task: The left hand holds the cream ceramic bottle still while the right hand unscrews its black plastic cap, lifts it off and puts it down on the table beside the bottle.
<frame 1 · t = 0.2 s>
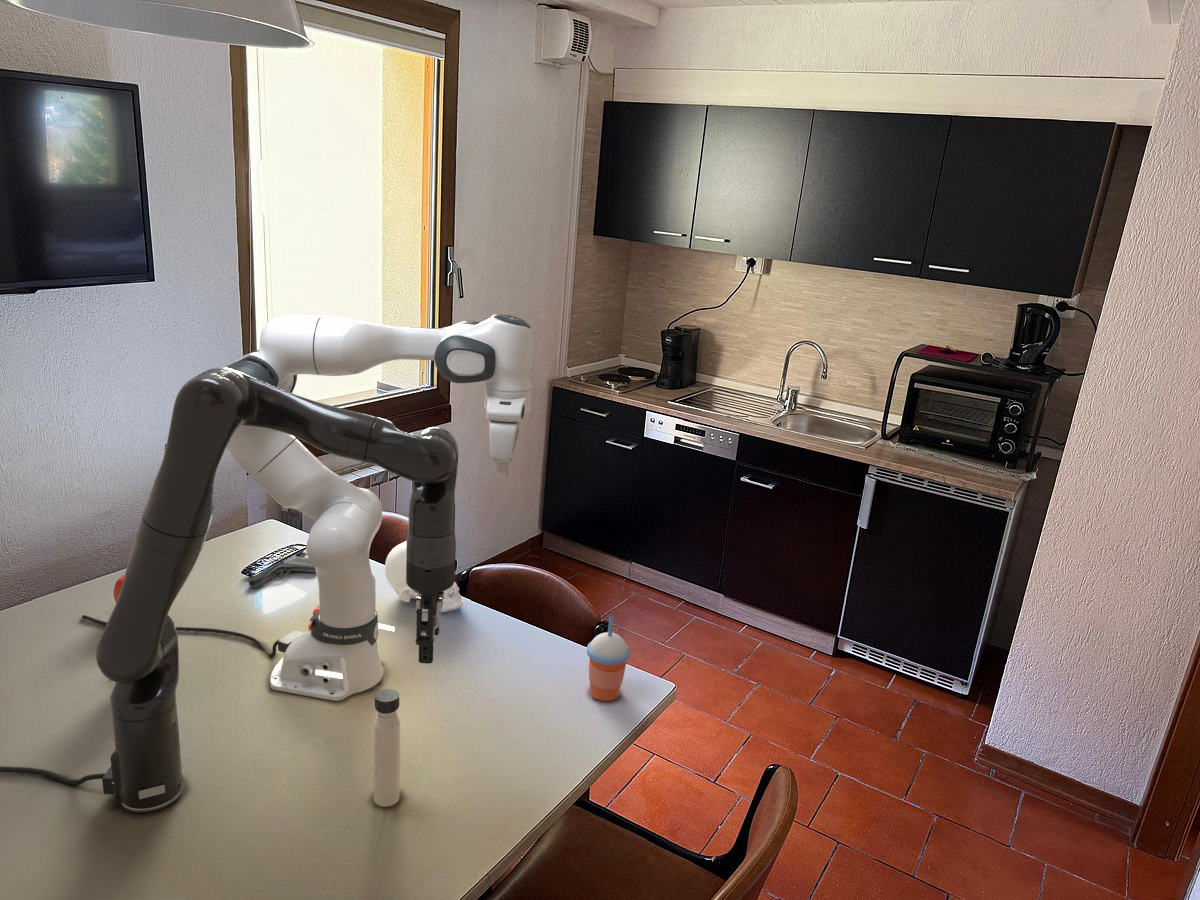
left hand: (429, 648, 138), 29 cm above the table, tool pointing down, fingers open, 8 cm apart
right hand: (504, 470, 166), 48 cm above the table, tool pointing down, fingers open, 8 cm apart
toy: (146, 686, 170), on the table
apple: (140, 614, 197), on the table
cap: (387, 696, 140), point 20 cm above the table, screwed on, not yet turned
bottle: (386, 798, 146), on the table
cup with straw: (604, 693, 180), on the table
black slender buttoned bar: (287, 576, 220), on the table
skull: (425, 601, 213), on the table
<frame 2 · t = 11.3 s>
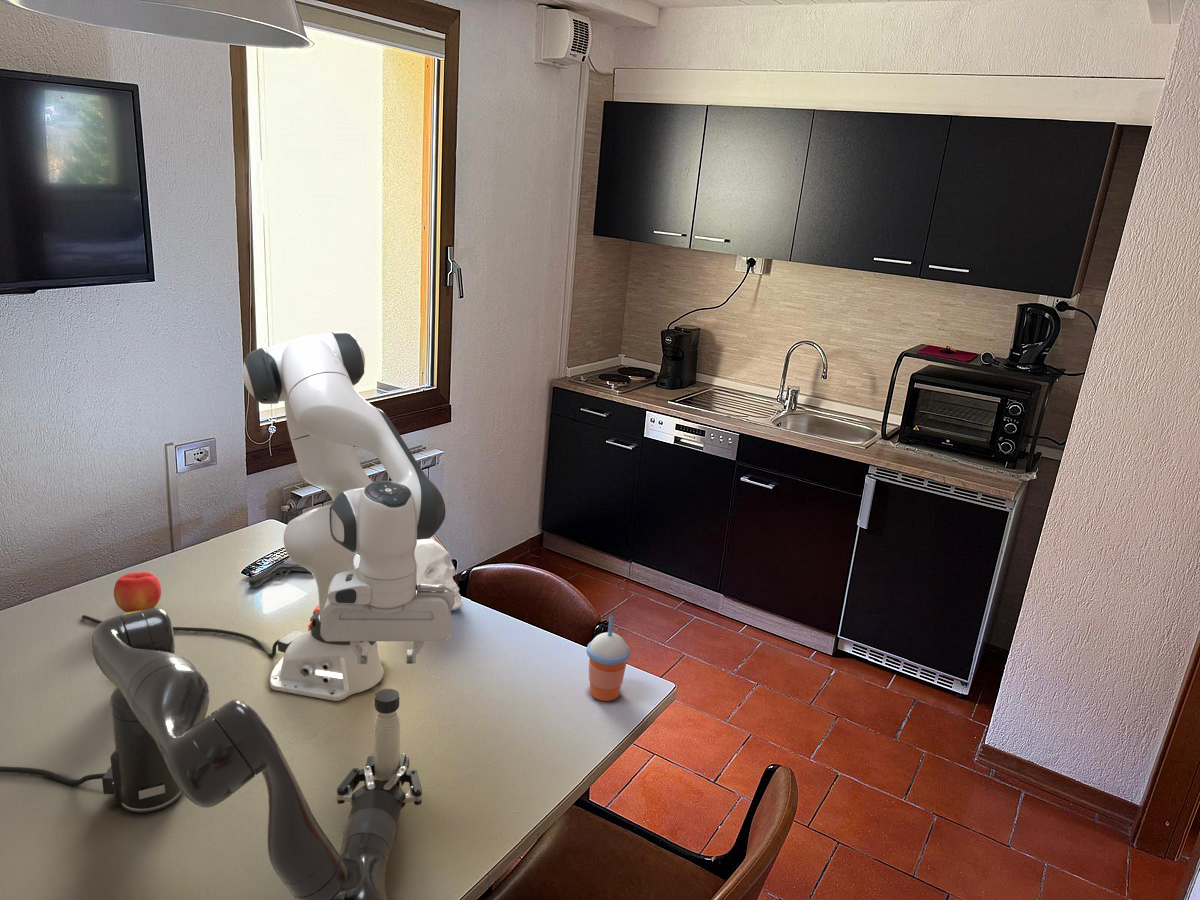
left hand: (389, 757, 146), 6 cm above the table, tool horizontal, fingers closed on bottle, 4 cm apart
right hand: (387, 662, 138), 26 cm above the table, tool pointing down, fingers open, 6 cm apart
bottle: (386, 798, 146), on the table, touching left hand
everything else where it was.
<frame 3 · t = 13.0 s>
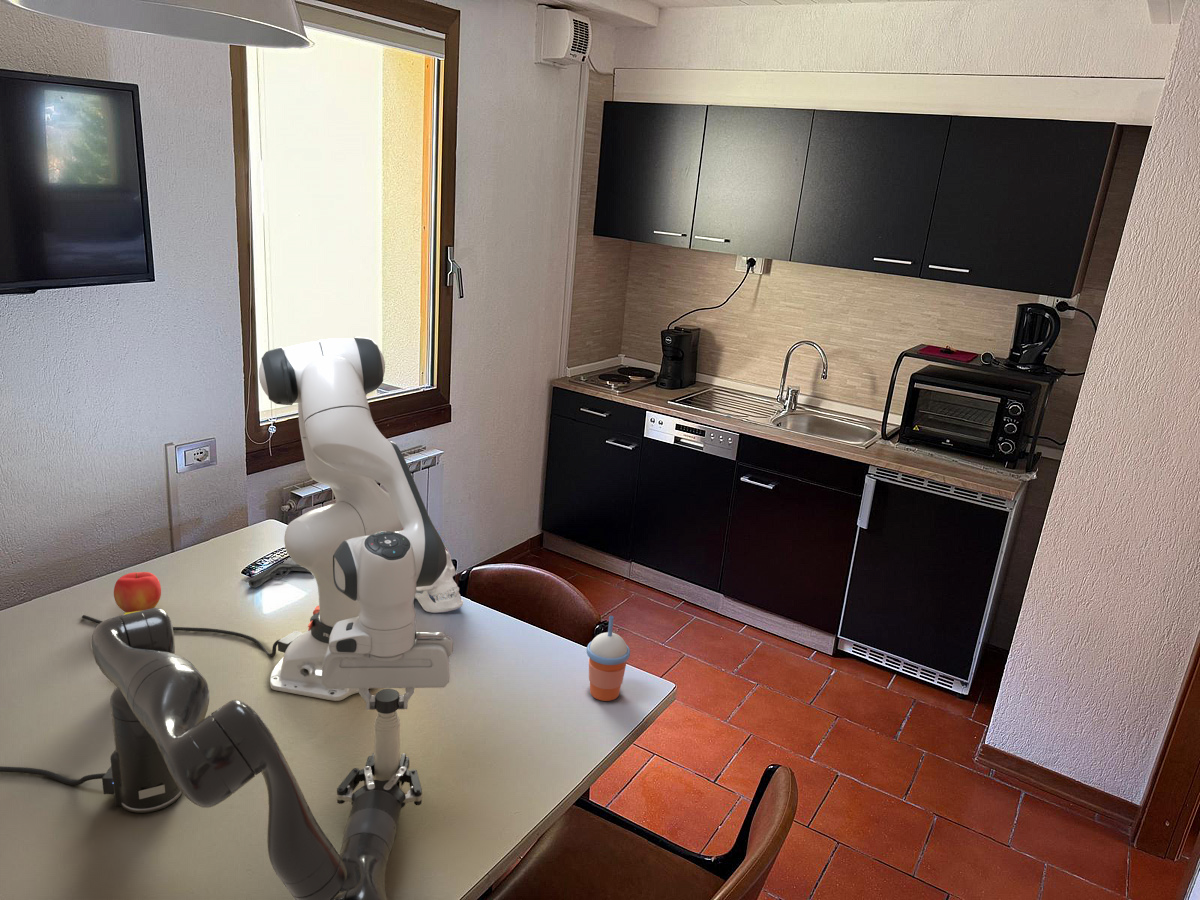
left hand: (389, 757, 146), 6 cm above the table, tool horizontal, fingers closed on bottle, 4 cm apart
right hand: (387, 707, 140), 18 cm above the table, tool pointing down, fingers closed on cap, 4 cm apart
cap: (387, 696, 140), point 20 cm above the table, screwed on, not yet turned, touching right hand
bottle: (386, 798, 146), on the table, touching left hand
everything else where it was.
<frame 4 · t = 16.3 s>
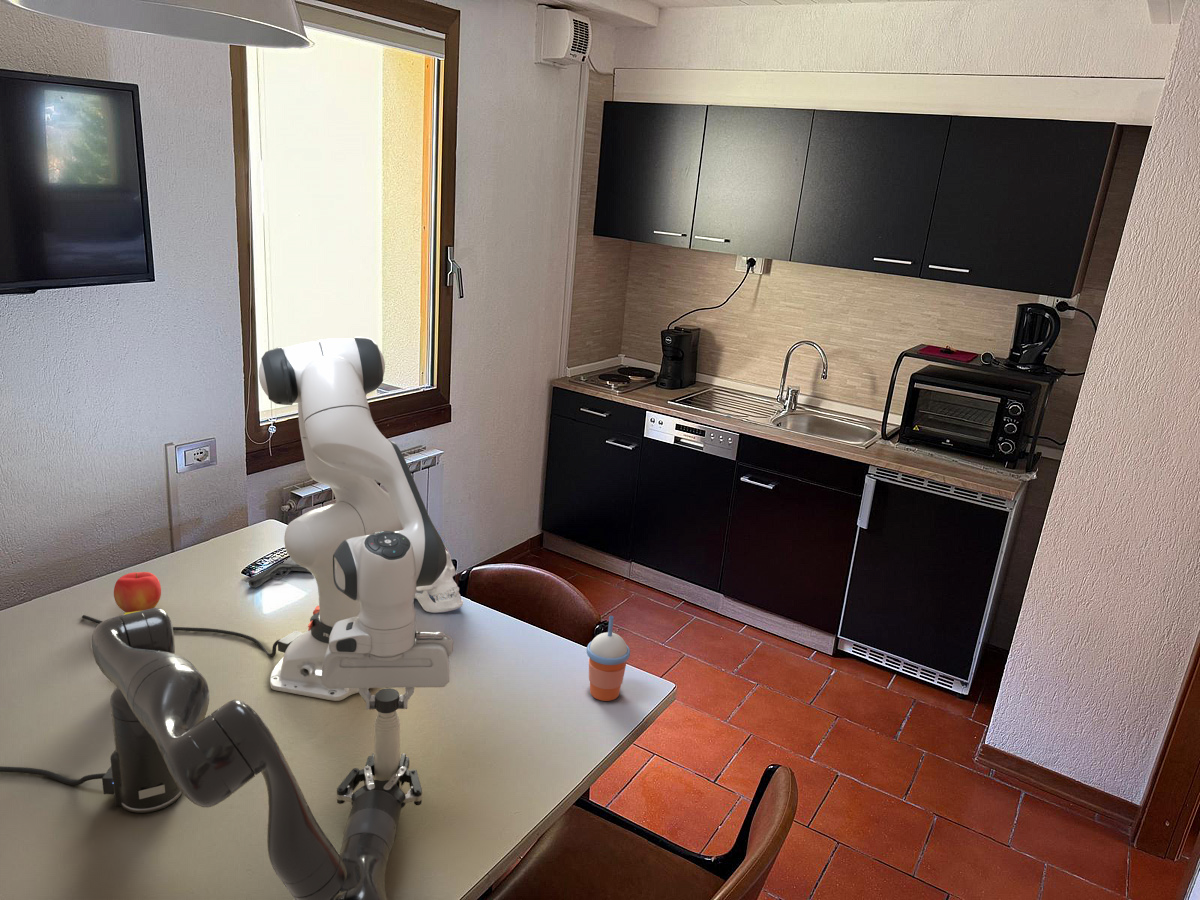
left hand: (389, 757, 146), 6 cm above the table, tool horizontal, fingers closed on bottle, 4 cm apart
right hand: (386, 707, 140), 18 cm above the table, tool pointing down, fingers closed on cap, 4 cm apart
cap: (387, 696, 140), point 20 cm above the table, turned 88° so far, risen 0.1 cm, still on its thread, touching right hand
bottle: (386, 798, 145), on the table, touching left hand
everything else where it was.
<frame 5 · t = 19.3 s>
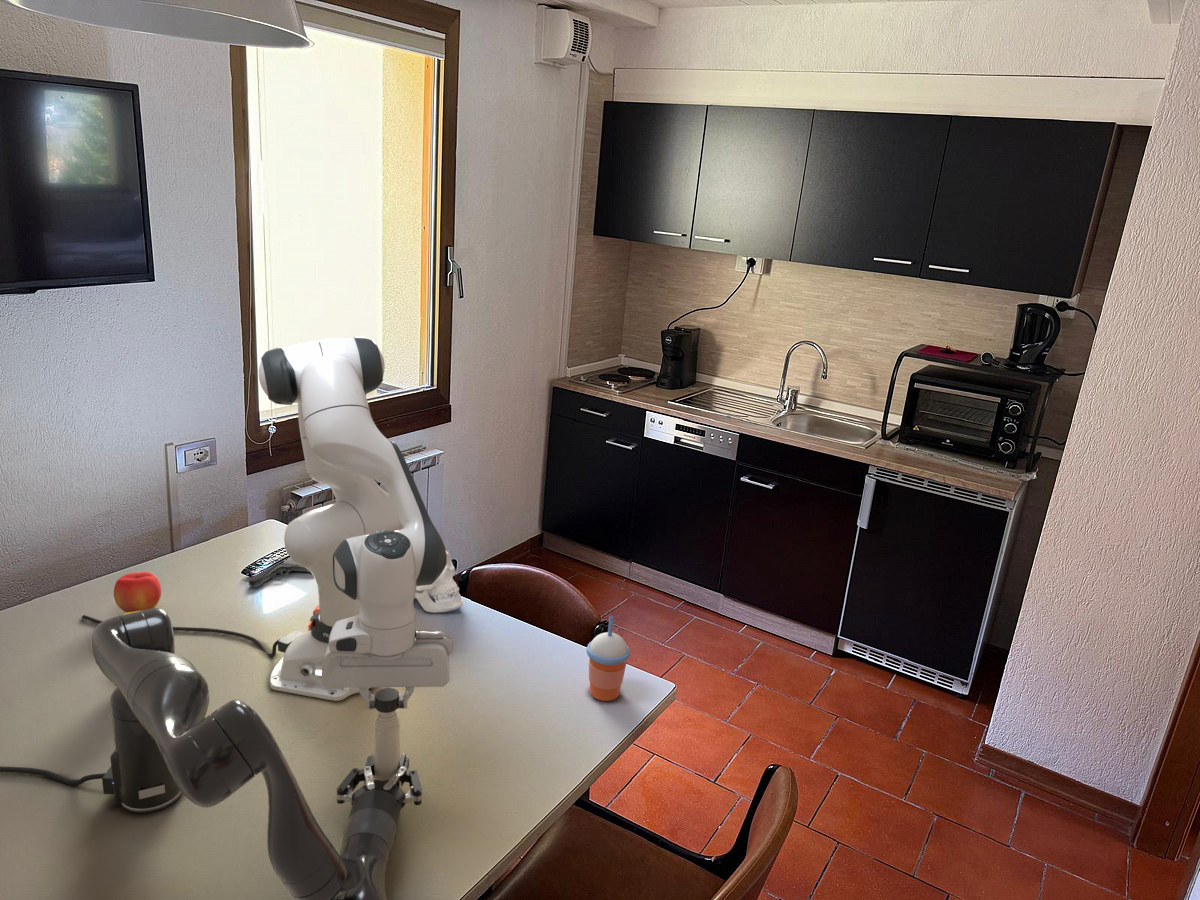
left hand: (389, 757, 146), 6 cm above the table, tool horizontal, fingers closed on bottle, 4 cm apart
right hand: (386, 706, 140), 18 cm above the table, tool pointing down, fingers closed on cap, 4 cm apart
cap: (387, 695, 139), point 20 cm above the table, turned 176° so far, risen 0.2 cm, still on its thread, touching right hand
bottle: (386, 798, 146), on the table, touching left hand
everything else where it was.
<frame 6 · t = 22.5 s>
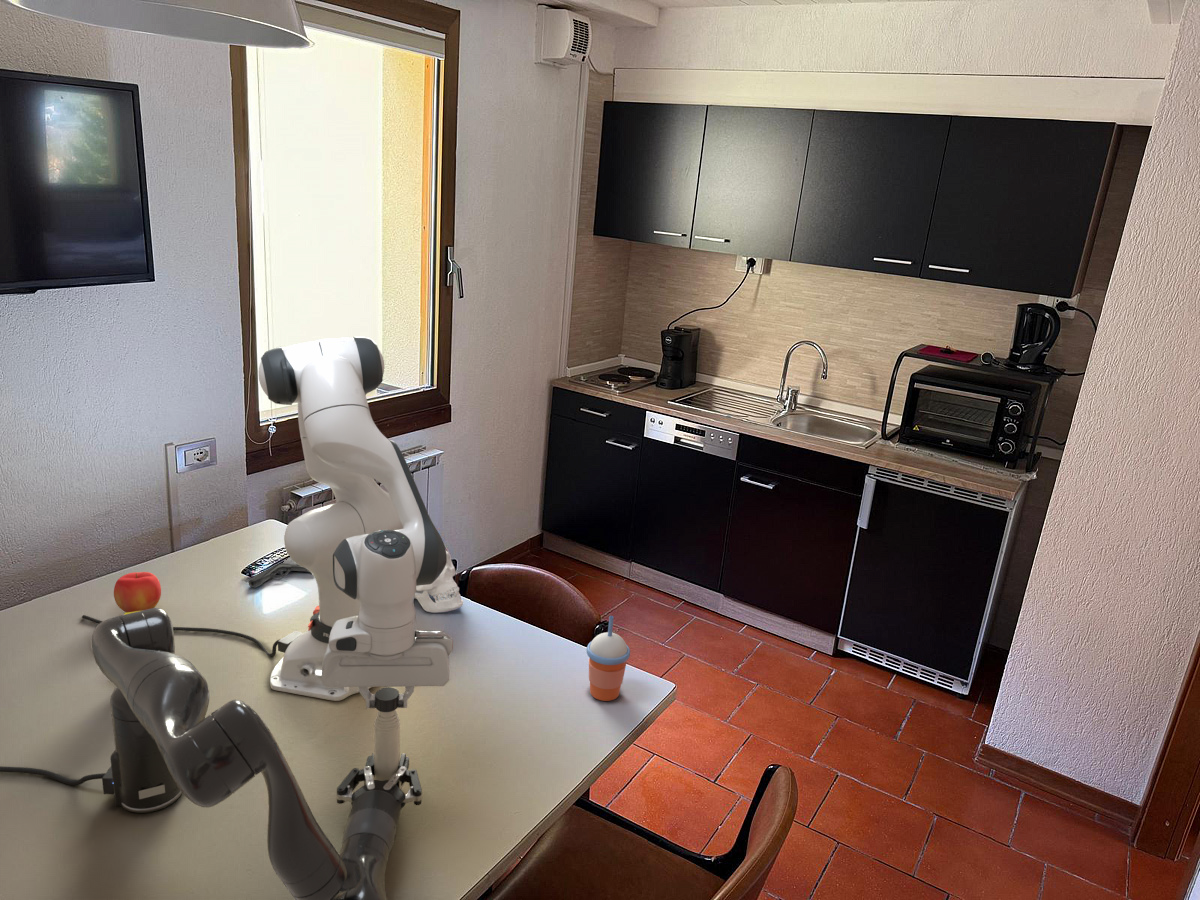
left hand: (389, 757, 146), 6 cm above the table, tool horizontal, fingers closed on bottle, 4 cm apart
right hand: (386, 706, 140), 18 cm above the table, tool pointing down, fingers closed on cap, 4 cm apart
cap: (387, 695, 139), point 20 cm above the table, turned 264° so far, risen 0.3 cm, still on its thread, touching right hand
bottle: (386, 798, 146), on the table, touching left hand
everything else where it was.
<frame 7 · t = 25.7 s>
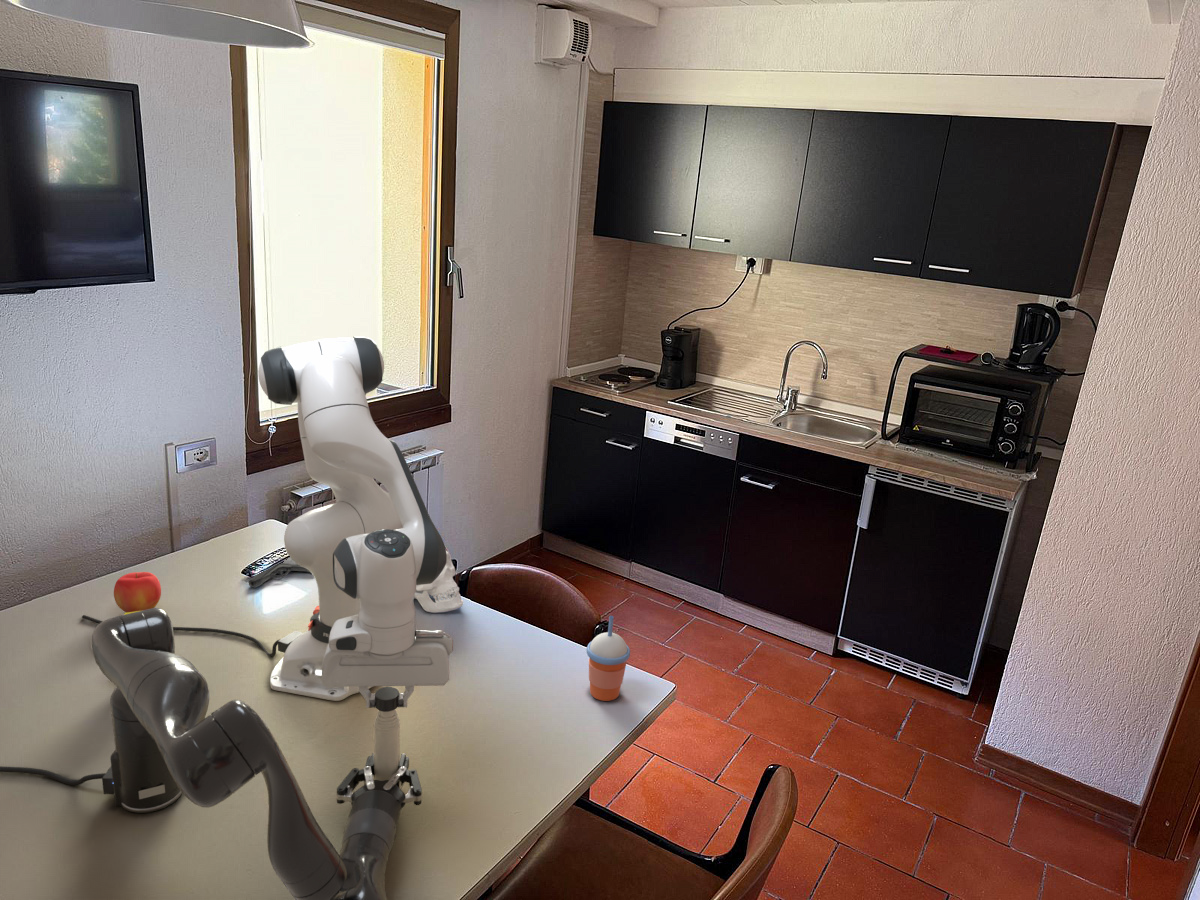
left hand: (389, 757, 146), 6 cm above the table, tool horizontal, fingers closed on bottle, 4 cm apart
right hand: (386, 705, 140), 18 cm above the table, tool pointing down, fingers closed on cap, 4 cm apart
cap: (387, 694, 139), point 20 cm above the table, turned 353° so far, risen 0.4 cm, still on its thread, touching right hand
bottle: (386, 798, 146), on the table, touching left hand
everything else where it was.
when the right hand's fingers open (2 cm above the table, at t = 35.3 s): cap drops 2 cm, point 2 cm above the table.
when the left hand's fingers open (6 cm above the table, at t = 36.5 s): bottle stays where it is, on the table.
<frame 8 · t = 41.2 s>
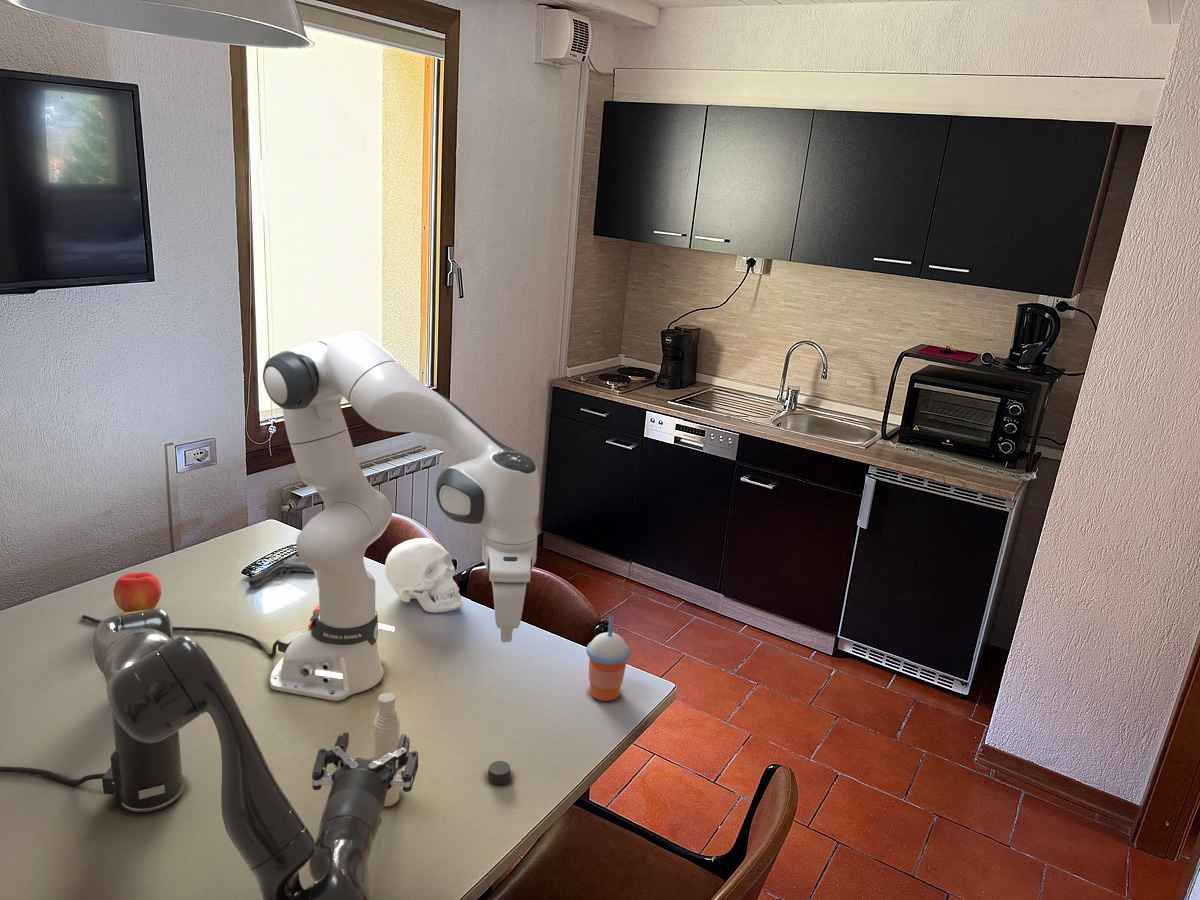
left hand: (374, 737, 129), 20 cm above the table, tool horizontal, fingers open, 8 cm apart
right hand: (506, 625, 144), 31 cm above the table, tool pointing down, fingers open, 8 cm apart
cap: (499, 769, 152), point 2 cm above the table, off its thread
bottle: (386, 798, 146), on the table
everything else where it was.
at the end: cap came off its thread; cap point 1.9 cm above the table; the left hand is holding nothing; the right hand is holding nothing; bottle tilted 0°; bottle moved 0.1 cm from its start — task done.
